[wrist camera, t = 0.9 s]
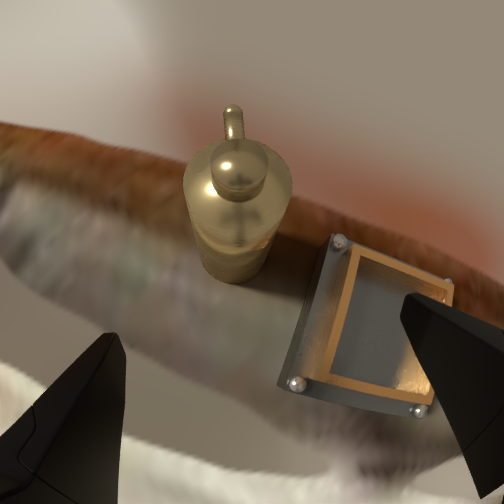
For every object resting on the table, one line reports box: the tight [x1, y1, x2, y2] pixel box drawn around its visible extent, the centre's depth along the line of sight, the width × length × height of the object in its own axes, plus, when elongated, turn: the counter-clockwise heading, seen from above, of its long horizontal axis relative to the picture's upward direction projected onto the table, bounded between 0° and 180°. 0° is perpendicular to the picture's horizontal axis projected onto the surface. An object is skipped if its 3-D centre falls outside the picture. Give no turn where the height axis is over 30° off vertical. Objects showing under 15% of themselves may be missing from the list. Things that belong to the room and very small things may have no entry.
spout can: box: [183, 105, 292, 284], centre depth 17 cm, size 6×5×12 cm
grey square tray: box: [277, 234, 454, 419], centre depth 19 cm, size 11×11×5 cm
